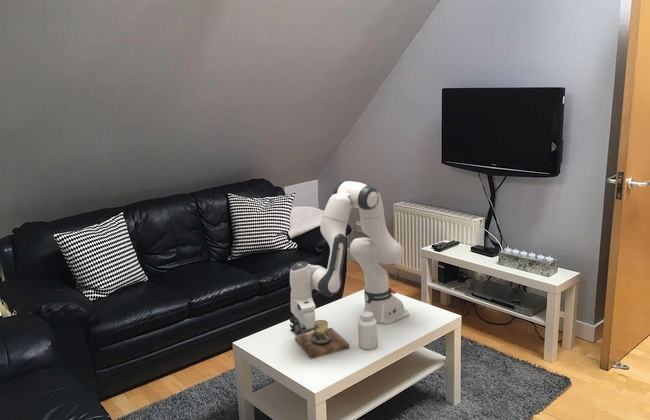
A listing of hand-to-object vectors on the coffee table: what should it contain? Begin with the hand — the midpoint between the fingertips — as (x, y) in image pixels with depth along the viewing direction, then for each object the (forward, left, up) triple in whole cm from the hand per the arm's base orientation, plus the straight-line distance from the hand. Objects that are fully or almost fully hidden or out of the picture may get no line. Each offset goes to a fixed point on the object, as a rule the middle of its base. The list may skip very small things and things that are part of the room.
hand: (303, 329), depth 242 cm
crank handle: (-3, +1, -4) cm, 6 cm away
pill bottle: (-25, +12, -9) cm, 29 cm away
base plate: (-8, +1, -9) cm, 12 cm away
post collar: (-8, +1, -7) cm, 10 cm away
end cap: (-6, -16, -9) cm, 20 cm away
